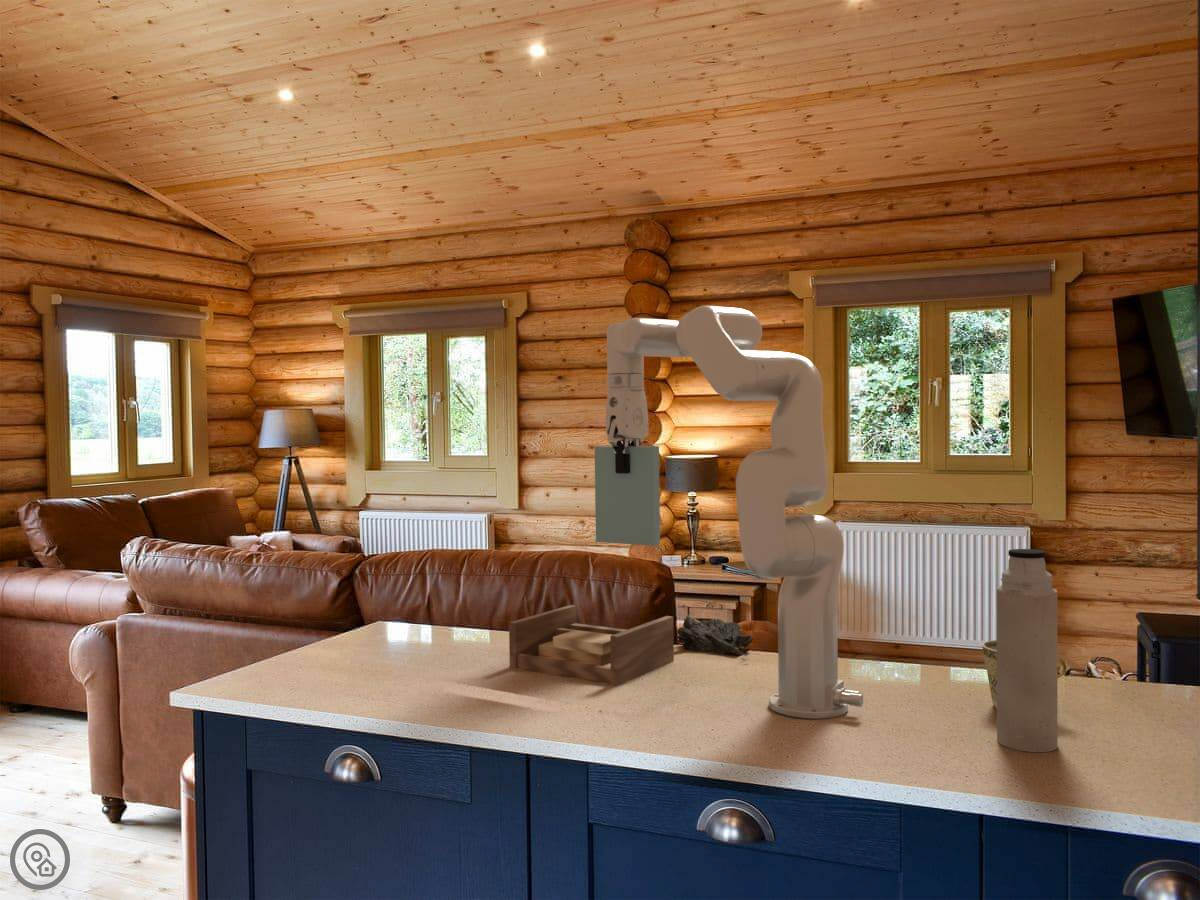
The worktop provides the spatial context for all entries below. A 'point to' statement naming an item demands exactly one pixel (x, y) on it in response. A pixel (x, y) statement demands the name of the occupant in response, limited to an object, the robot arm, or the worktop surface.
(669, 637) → the walnut rack
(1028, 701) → the thermos bottle
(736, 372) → the robot arm
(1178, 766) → the worktop surface
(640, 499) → the teal sheet
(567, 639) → the offcut stack
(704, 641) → the mineral specimen
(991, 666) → the ceramic cup
